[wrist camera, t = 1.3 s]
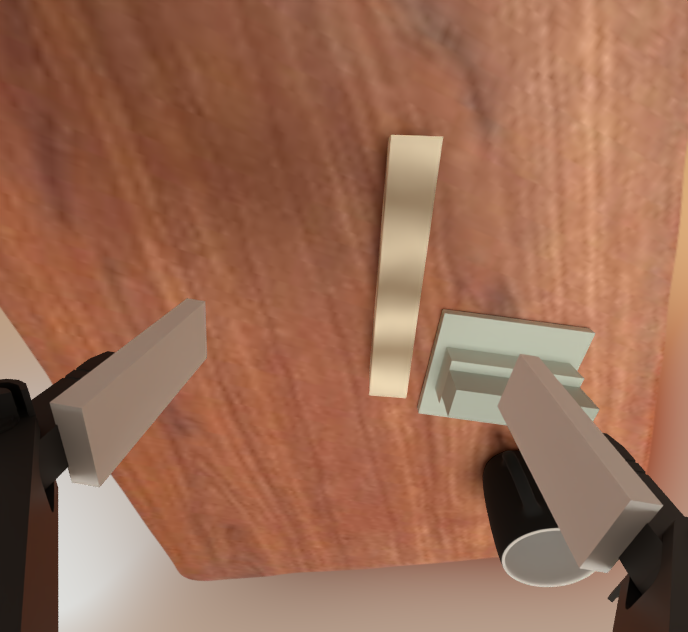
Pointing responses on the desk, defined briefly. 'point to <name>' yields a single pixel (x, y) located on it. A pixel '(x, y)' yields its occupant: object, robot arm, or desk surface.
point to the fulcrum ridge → (496, 363)
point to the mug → (526, 526)
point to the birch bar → (402, 258)
